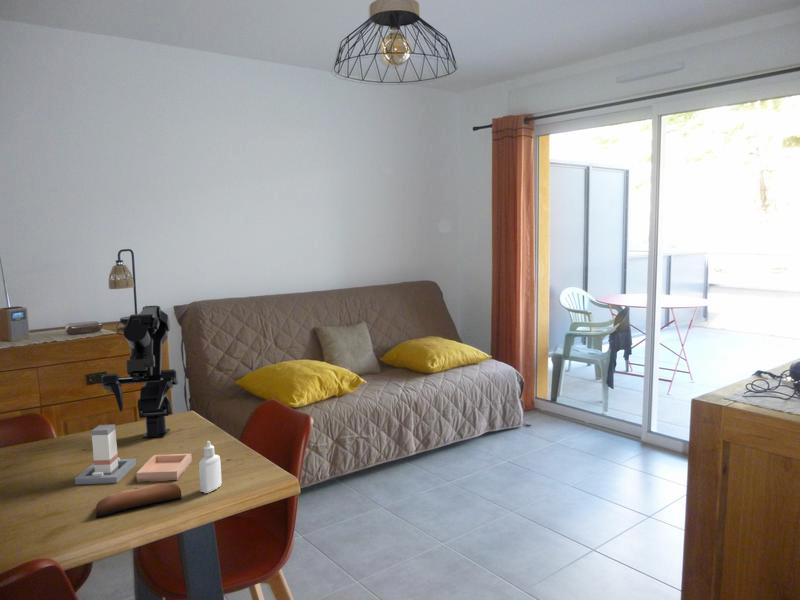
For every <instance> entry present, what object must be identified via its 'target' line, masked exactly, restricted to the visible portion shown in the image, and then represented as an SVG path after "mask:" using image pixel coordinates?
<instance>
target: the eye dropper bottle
mask: <svg viewBox="0 0 800 600" xmlns="http://www.w3.org/2000/svg"><path fill="white" fill-rule="evenodd" d="M198 470H199V471H198V474H199V475H198V476H199V489H200V490H199V492H200V493H201V492H204V493H203V494H206V493H208V492H211V491H213V490H215V489H217V488H218V487H220V486H222V485H221V484H223V483H222V481H223V480H222V467H221V456H220V455H219V454H215V446H214V445H213V444H211V441H210V440H207V441H206V446H204V447H203V457H202V458H201V459H200V461H199V463H198ZM220 488H221V487H220ZM217 490H218V489H217ZM211 493H212V492H211ZM208 494H209V493H208Z"/></svg>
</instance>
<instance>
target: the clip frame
mask: <svg viewBox="0 0 800 600" xmlns="http://www.w3.org/2000/svg"><path fill="white" fill-rule="evenodd" d="M136 465H137V459H136V458H120V457H119V456H118V470H117V471H116V472H115V473H114V474H113V475H103V472H95V469H94V462H93V463H92V464H90V466H88V467H87V468H86V469H85V470H83V472H81V473H80V474H79V475H77V476H76V477H75V478H74V484H75V485H93V484H95V485H96V484H98V485H99V484H101V485H102V484H117V483H119V482H120V480H121V479H123V478H124V477H125V475H127V474H128V473H129V472H130V471H131V470H132V469H133V468H134V467H135V466H136Z"/></svg>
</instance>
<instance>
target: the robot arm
mask: <svg viewBox="0 0 800 600" xmlns="http://www.w3.org/2000/svg"><path fill="white" fill-rule="evenodd" d="M170 326H171V325H170V318H169V315H168V314H167V313H166V312H165V311H163V310H162V309H161V306H159V305H145V306H143V307H142V310H141V312H139V313H137V314H130V316H129V318H127V319H126V324H125V326H124V330H123V336H124V338H125V341H126V342H127V344H128V346H129V348H130V356H129V359H126V373H127V375H128V376H123V377H122V376H120V375H119V373H118V372H117V373H105V374H103V375H102V376H101V381H100V384H101V386H102V387H103V388H104V390H105V391H109V393H113V395H114V397H115V400H116V403H117V406H118V408H119V409H118V410H119V412H120V413H123V410H124V400H123V398H124V396H123V389H122V388H121V387H122V386H123V385H130V384H143V383H145V385H144V386H142V387H141V388H140V395H139V396H140V397H139V398H138V400H137V410H138V416H139V417H138V418H139V419H145V433H144V434H143V435H142V436H141V438H143V439H144V438H145V439H151V438H152V439H153V438H164V437H165V436H166V435H167V434H168V433H169V432H170V431H171V428H167V423H166V422H167V421H166V417H169V416H170V415H172V414H173V410H172V403H171V400H170V399H169V396H167V393H168V392H169V390H170V389H173V388H174V386H177V385H179V375H178V373H177V372H178V371H176V369H174V368H173V369H162V368H163V367H162V366H163V345H164V343H165V342H166V340H168V337H169V332H170V331H171V330H170V329H171V327H170Z"/></svg>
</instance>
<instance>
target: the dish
mask: <svg viewBox="0 0 800 600" xmlns="http://www.w3.org/2000/svg"><path fill="white" fill-rule="evenodd" d="M192 459H193V458H192V453H173V454H171V453H170V454H154V455H152V456H151V457H150V458H149V459H148V460H147V461H146V462H145V464H143V465H142V467H141V468H140V469H138V471H136V474H135V475H136V482H137V483H142V482H141V481H150V482H164V481H163V480H176V481H178V480H179V479H180V478H181V477H182V475H183V474H184V473H185V472H186V470H187V469H188V468H189V466H190V465H191V464H192V463H191V462H192V461H193V460H192ZM190 463H191V464H190ZM189 464H190V465H189ZM187 467H188V468H187ZM186 468H187V469H186ZM183 472H184V473H183ZM182 473H183V474H182ZM181 474H182V475H181ZM180 476H181V477H180ZM179 477H180V478H179ZM178 478H179V479H178Z"/></svg>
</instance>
